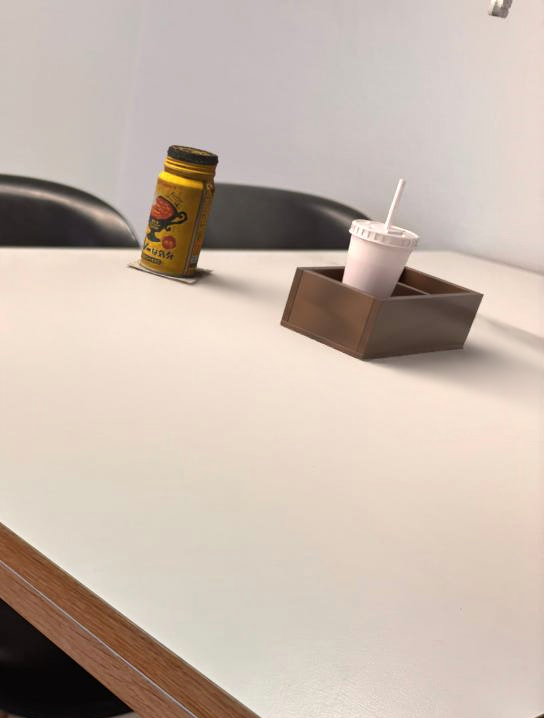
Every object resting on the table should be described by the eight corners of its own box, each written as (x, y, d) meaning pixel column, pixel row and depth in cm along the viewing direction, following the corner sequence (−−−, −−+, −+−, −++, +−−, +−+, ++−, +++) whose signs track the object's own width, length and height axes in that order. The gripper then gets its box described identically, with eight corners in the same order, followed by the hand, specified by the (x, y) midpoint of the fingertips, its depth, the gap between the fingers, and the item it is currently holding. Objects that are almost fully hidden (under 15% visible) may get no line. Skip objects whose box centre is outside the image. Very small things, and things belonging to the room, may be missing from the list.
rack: (463, 347, 110) (484, 294, 107) (361, 360, 98) (382, 300, 95) (384, 316, 115) (402, 264, 112) (279, 324, 103) (296, 266, 100)
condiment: (125, 266, 112) (151, 143, 106) (152, 255, 119) (178, 139, 113) (189, 285, 110) (220, 161, 104) (213, 273, 117) (243, 156, 111)
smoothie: (318, 331, 101) (368, 174, 94) (320, 316, 106) (367, 166, 99) (385, 348, 100) (440, 191, 93) (384, 332, 106) (436, 183, 98)
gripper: (712, -118, 101) (643, 47, 108) (518, -138, 112) (467, 12, 119) (688, -133, 97) (618, 39, 104) (489, -152, 108) (438, 4, 115)
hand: (536, 24), depth 112 cm, fingers open, 8 cm apart
